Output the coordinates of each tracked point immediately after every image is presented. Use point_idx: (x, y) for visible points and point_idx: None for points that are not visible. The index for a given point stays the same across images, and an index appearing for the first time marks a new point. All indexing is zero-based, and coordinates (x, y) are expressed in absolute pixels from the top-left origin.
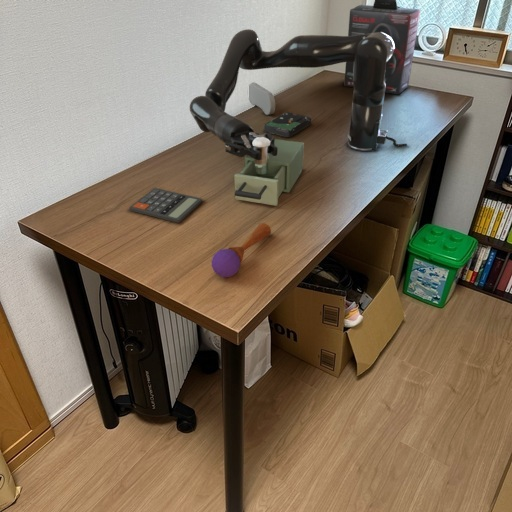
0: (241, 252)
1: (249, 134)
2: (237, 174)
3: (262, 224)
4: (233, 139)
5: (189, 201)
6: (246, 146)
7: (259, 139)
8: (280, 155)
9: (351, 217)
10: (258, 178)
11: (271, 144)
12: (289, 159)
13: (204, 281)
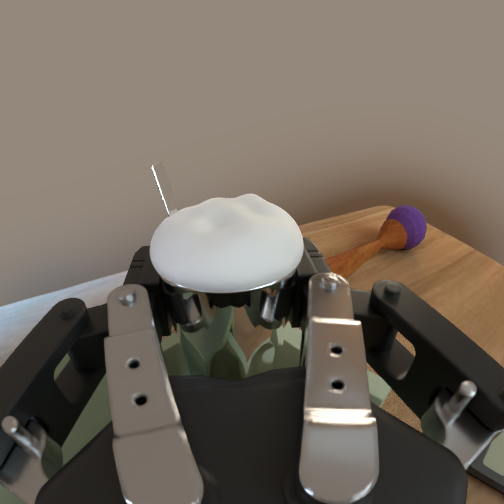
0: (383, 224)
1: (205, 485)
2: (377, 389)
3: (329, 264)
4: (457, 470)
5: (501, 454)
6: (348, 291)
7: (244, 209)
8: None
9: (116, 275)
10: (289, 329)
11: (146, 262)
12: (60, 367)
13: (429, 246)
